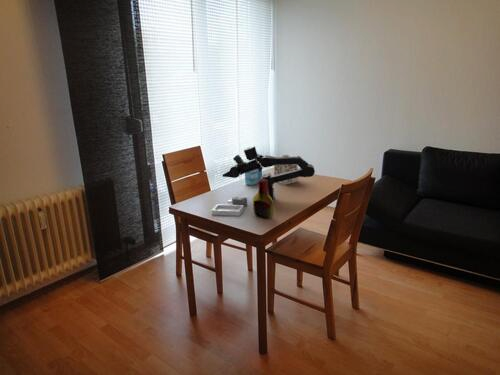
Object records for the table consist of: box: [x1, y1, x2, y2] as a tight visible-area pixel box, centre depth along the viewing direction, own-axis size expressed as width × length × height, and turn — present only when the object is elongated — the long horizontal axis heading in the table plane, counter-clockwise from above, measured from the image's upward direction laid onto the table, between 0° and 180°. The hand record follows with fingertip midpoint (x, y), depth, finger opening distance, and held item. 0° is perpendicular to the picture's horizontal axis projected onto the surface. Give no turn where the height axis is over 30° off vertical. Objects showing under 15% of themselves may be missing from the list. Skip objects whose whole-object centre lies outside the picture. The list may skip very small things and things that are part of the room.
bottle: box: [252, 179, 275, 219], centre depth 180 cm, size 12×6×20 cm, turn 50°
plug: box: [227, 196, 248, 207], centre depth 201 cm, size 11×4×4 cm, turn 76°
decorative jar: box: [273, 154, 299, 186], centre depth 237 cm, size 12×12×18 cm
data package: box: [244, 166, 263, 186], centre depth 239 cm, size 12×4×12 cm, turn 134°
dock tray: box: [211, 204, 245, 217], centre depth 192 cm, size 15×9×2 cm, turn 76°
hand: (224, 174), depth 207 cm, fingers open, 9 cm apart
